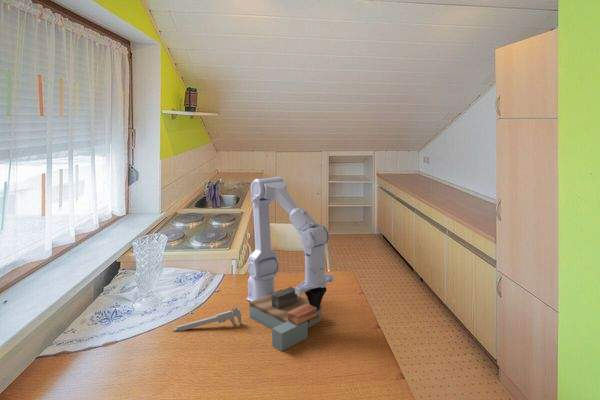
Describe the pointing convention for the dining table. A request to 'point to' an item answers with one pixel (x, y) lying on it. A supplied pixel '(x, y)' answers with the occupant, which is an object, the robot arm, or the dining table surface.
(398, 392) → the dining table surface
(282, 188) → the robot arm
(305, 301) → the lid
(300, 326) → the blue grey tray
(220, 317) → the caliper
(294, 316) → the salmon pink block
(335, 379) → the dining table surface
